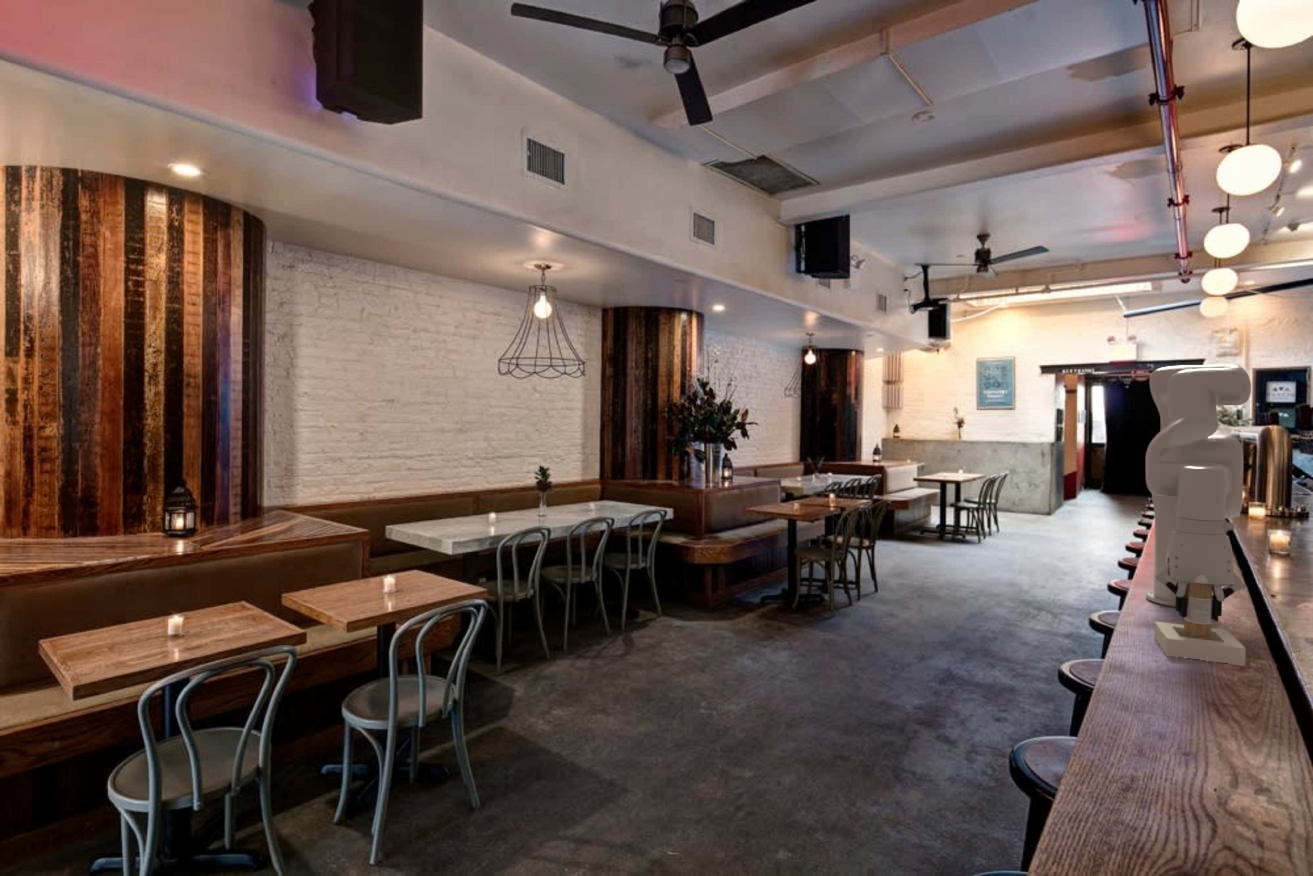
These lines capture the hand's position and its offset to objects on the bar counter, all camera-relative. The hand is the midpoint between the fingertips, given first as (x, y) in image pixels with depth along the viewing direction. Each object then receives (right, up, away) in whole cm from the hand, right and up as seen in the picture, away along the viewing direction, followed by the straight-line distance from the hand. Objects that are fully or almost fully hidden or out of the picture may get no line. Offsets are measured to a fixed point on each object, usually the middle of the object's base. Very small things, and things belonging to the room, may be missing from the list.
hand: (1197, 616), depth 134 cm
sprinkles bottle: (0, -5, 0) cm, 5 cm away
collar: (0, -7, 0) cm, 7 cm away
